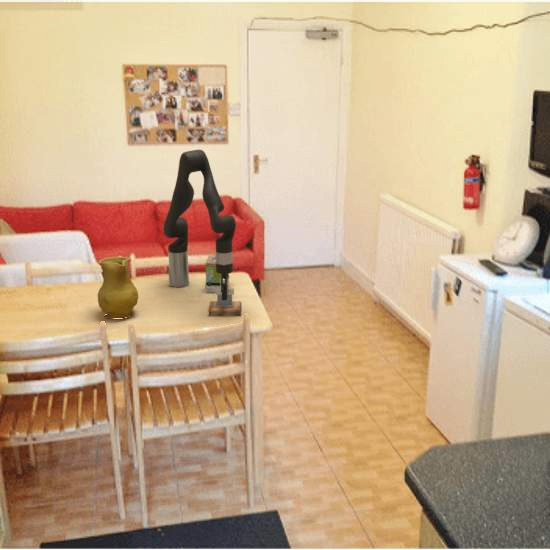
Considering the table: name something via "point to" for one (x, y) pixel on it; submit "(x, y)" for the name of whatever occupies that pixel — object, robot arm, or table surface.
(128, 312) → the pitcher
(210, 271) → the tea box
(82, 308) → the table surface
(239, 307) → the stand
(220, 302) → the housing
